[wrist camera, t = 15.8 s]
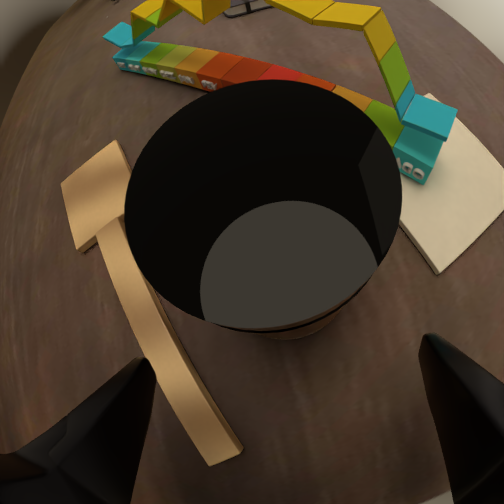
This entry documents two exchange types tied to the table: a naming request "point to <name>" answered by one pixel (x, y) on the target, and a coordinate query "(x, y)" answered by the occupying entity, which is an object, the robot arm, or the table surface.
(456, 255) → the napkin
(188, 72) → the chart
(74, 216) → the spatula
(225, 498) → the table surface
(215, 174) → the supplement container
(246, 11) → the notebook
